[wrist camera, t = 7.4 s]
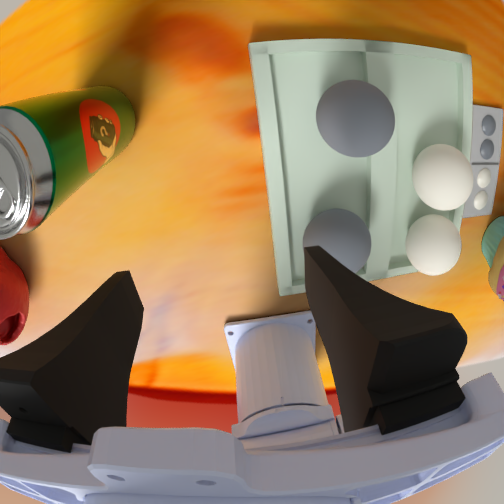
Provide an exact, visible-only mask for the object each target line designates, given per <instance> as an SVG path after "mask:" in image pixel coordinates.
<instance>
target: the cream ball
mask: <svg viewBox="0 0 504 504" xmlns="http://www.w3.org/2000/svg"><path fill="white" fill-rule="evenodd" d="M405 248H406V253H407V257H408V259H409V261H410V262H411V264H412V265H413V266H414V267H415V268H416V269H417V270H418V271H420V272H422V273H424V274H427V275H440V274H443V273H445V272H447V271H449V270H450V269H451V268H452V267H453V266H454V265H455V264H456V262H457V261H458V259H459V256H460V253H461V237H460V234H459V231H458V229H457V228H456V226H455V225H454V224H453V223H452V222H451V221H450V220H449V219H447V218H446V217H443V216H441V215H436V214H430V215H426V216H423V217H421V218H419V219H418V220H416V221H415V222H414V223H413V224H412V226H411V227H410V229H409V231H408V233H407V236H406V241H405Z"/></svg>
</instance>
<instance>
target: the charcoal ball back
mask: <svg viewBox="0 0 504 504" xmlns="http://www.w3.org/2000/svg"><path fill="white" fill-rule="evenodd" d="M317 245H319V246H320V247H322V248H323V249H324V250H325V251H327V252H328V253H329V254H330V255H331V256H333V257H334V258H335V259H336V260H338V261H339V262H340V263H341V264H343V265H344V266H345V267H347V268H348V269H349V270H351V271H352V272H354V273H357V272H358V271H359V270H360V269H361V268H362V267H363V266H364V265H365V263H366V262H367V260H368V258H369V255H370V252H371V235H370V232H369V229H368V227H367V226H366V224H365V223H364V221H363V220H362V219H361V218H360V217H359V216H358V215H356V214H355V213H353V212H351V211H348V210H345V209H339V208H335V209H328V210H325V211H323V212H321V213H319V214H317V215H316V216H315V217H314V218H313V219H312V220H311V221H310V222H309V224H308V225H307V227H306V229H305V232H304V235H303V252H304V247H310V246H317Z"/></svg>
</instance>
